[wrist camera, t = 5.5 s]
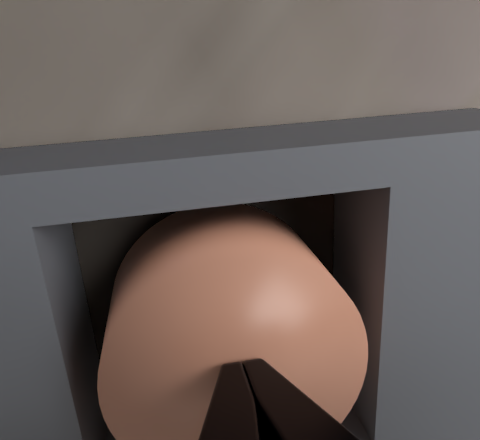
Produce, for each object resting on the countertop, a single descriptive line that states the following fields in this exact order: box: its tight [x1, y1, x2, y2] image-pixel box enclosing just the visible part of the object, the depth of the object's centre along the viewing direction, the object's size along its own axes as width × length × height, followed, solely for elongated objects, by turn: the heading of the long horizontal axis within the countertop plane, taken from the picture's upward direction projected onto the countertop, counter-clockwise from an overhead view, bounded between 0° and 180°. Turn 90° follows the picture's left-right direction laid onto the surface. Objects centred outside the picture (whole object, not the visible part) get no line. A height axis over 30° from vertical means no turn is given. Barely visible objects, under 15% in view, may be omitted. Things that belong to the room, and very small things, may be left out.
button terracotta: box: [97, 204, 368, 440], centre depth 11 cm, size 6×6×3 cm
